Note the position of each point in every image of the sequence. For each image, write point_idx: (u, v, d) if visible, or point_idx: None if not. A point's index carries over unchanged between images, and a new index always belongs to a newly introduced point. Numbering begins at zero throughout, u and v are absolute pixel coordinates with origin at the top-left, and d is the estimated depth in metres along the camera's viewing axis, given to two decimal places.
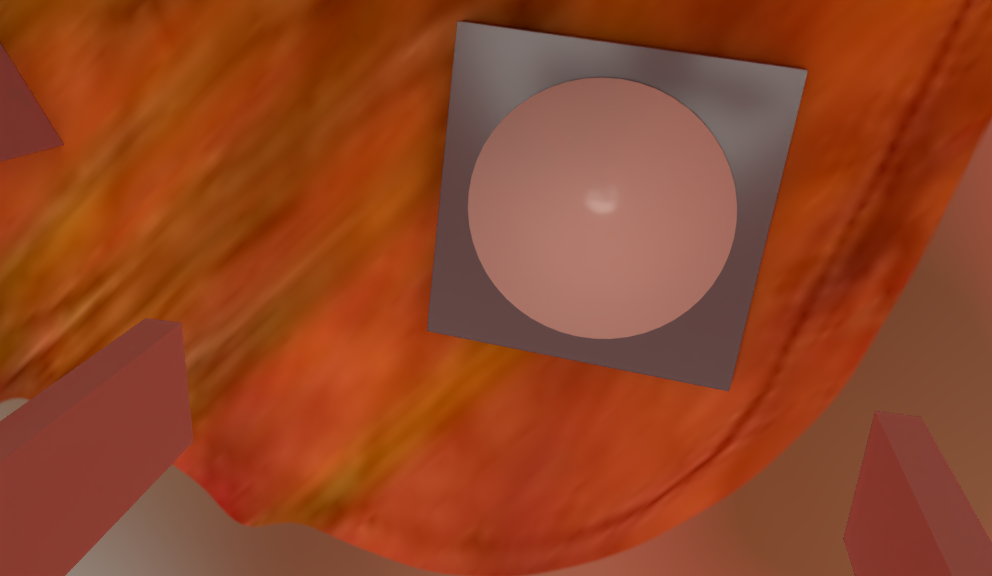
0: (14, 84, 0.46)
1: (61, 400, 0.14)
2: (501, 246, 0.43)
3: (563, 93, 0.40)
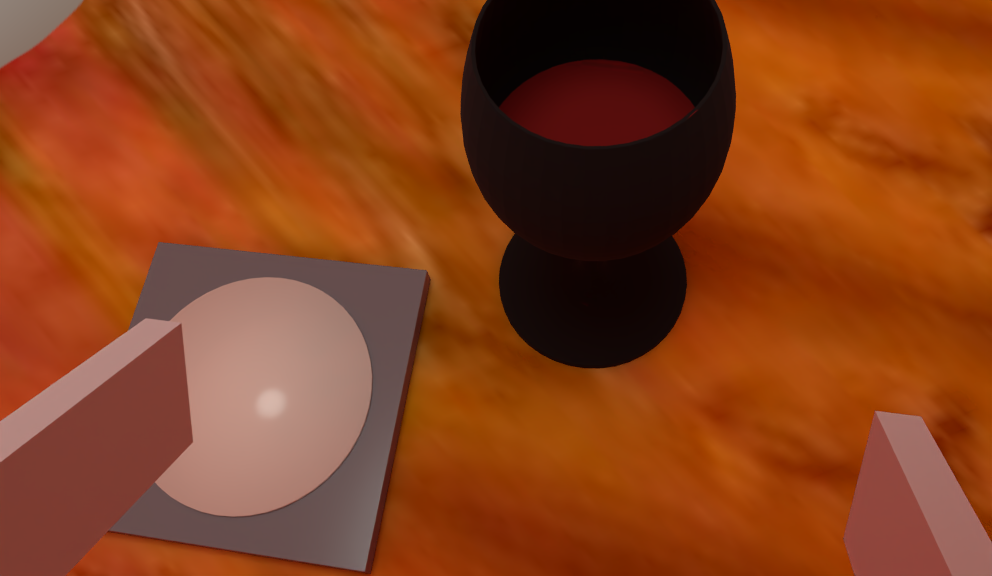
0: None
1: (61, 400, 0.14)
2: (229, 305, 0.47)
3: (360, 357, 0.45)
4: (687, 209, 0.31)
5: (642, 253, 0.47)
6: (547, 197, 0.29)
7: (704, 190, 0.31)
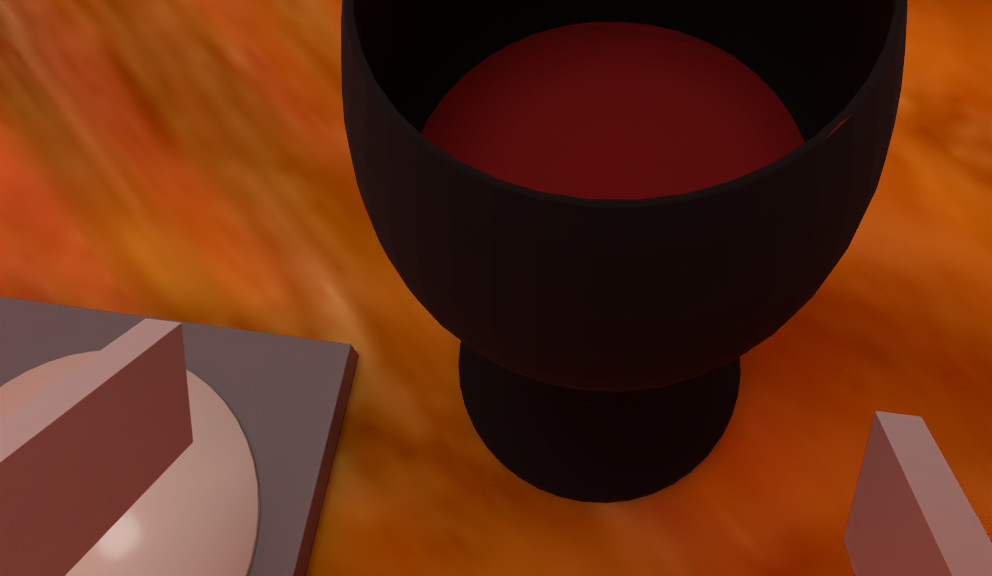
0: None
1: (61, 400, 0.14)
2: None
3: (242, 480, 0.29)
4: (789, 313, 0.16)
5: None
6: (504, 297, 0.14)
7: (825, 276, 0.15)
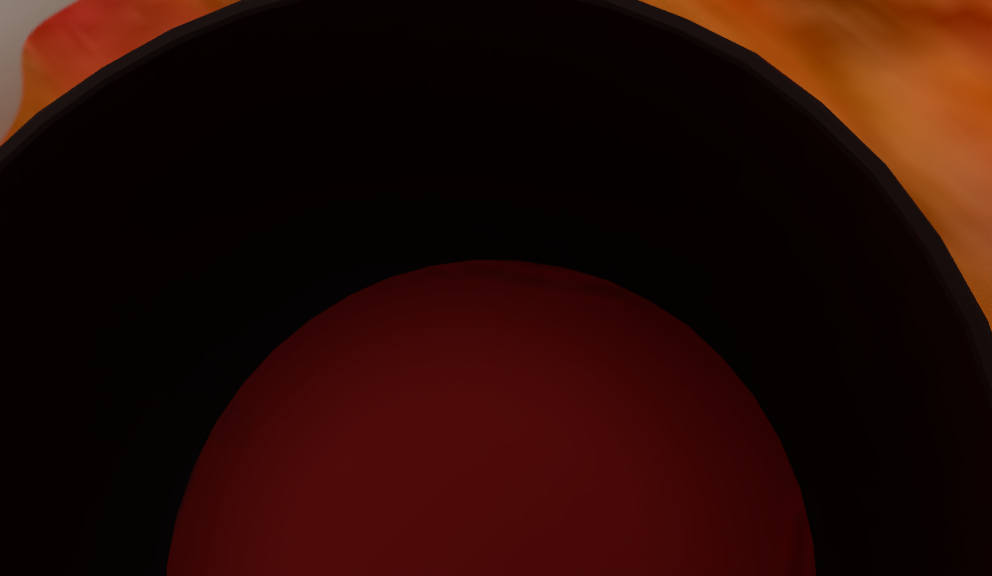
0: None
1: None
2: None
3: None
4: None
5: None
6: None
7: None
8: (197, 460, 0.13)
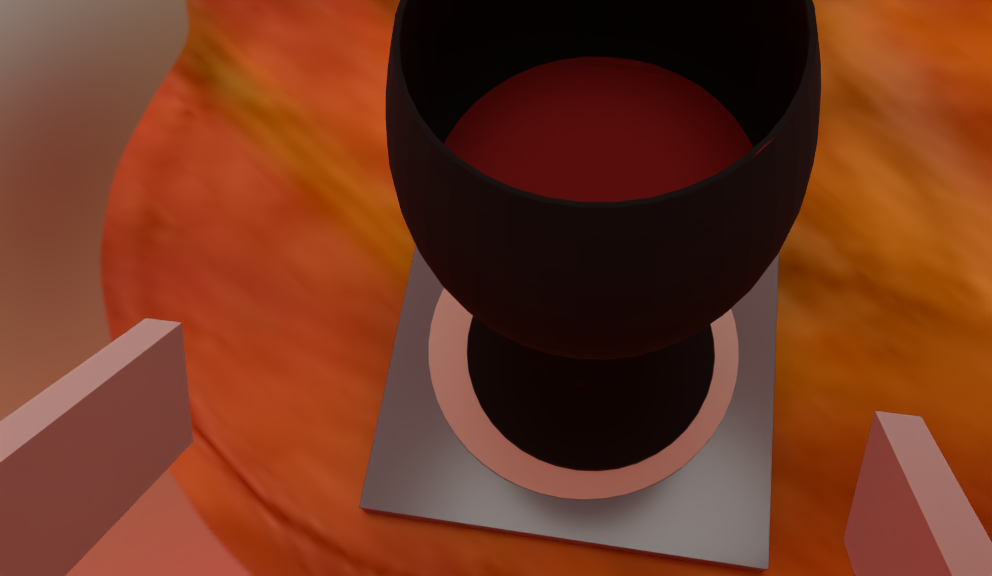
0: None
1: (61, 400, 0.14)
2: None
3: None
4: (739, 291, 0.20)
5: None
6: (516, 278, 0.18)
7: (767, 262, 0.20)
8: None
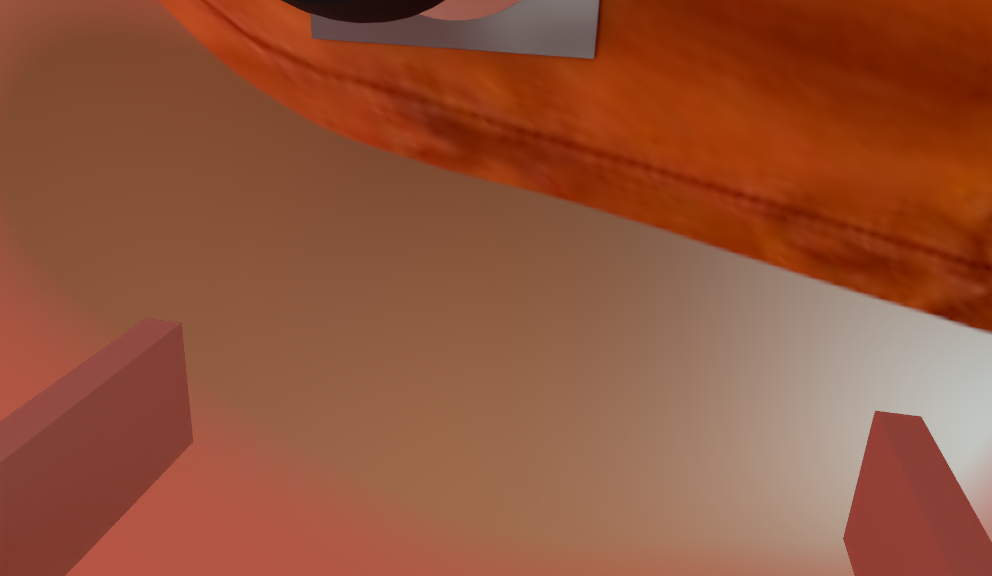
0: None
1: (61, 400, 0.14)
2: None
3: None
4: None
5: None
6: (312, 13, 0.30)
7: None
8: None
